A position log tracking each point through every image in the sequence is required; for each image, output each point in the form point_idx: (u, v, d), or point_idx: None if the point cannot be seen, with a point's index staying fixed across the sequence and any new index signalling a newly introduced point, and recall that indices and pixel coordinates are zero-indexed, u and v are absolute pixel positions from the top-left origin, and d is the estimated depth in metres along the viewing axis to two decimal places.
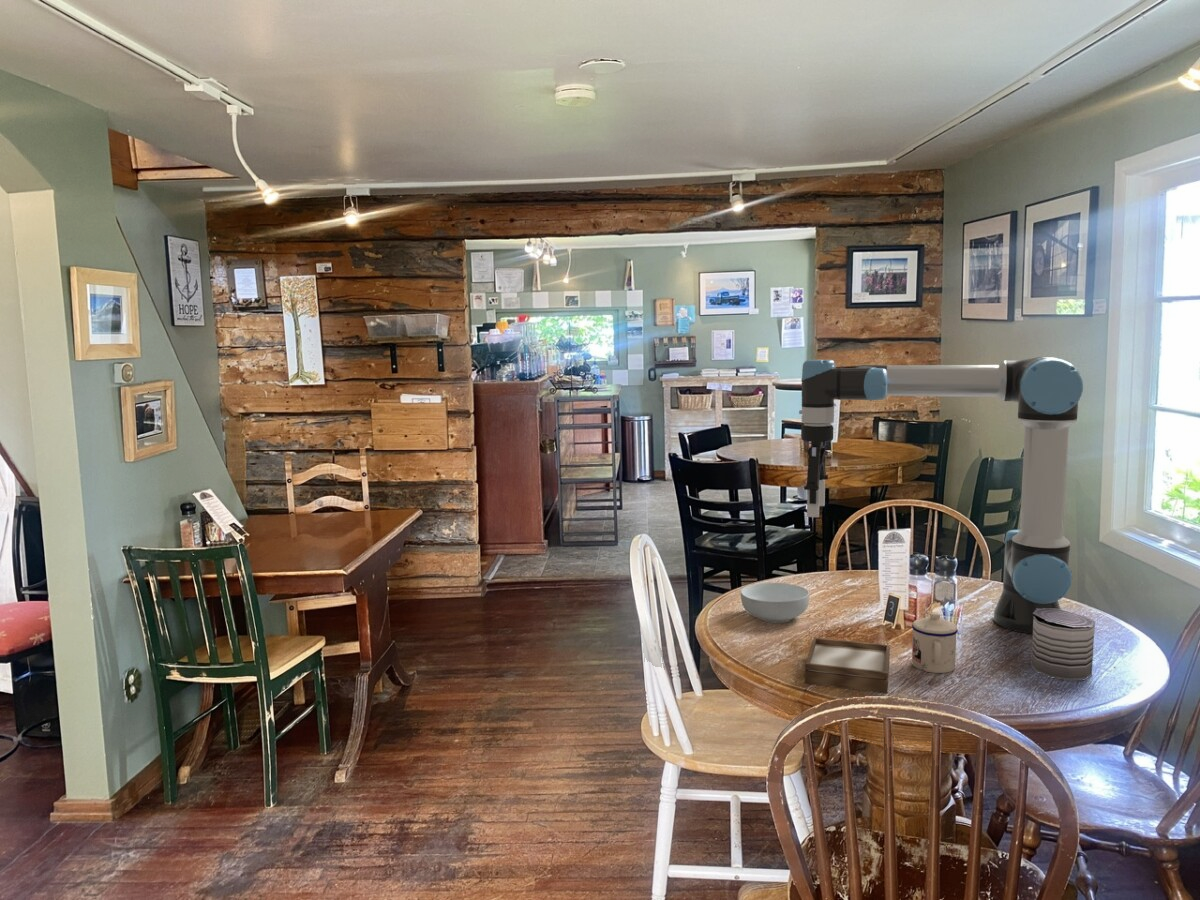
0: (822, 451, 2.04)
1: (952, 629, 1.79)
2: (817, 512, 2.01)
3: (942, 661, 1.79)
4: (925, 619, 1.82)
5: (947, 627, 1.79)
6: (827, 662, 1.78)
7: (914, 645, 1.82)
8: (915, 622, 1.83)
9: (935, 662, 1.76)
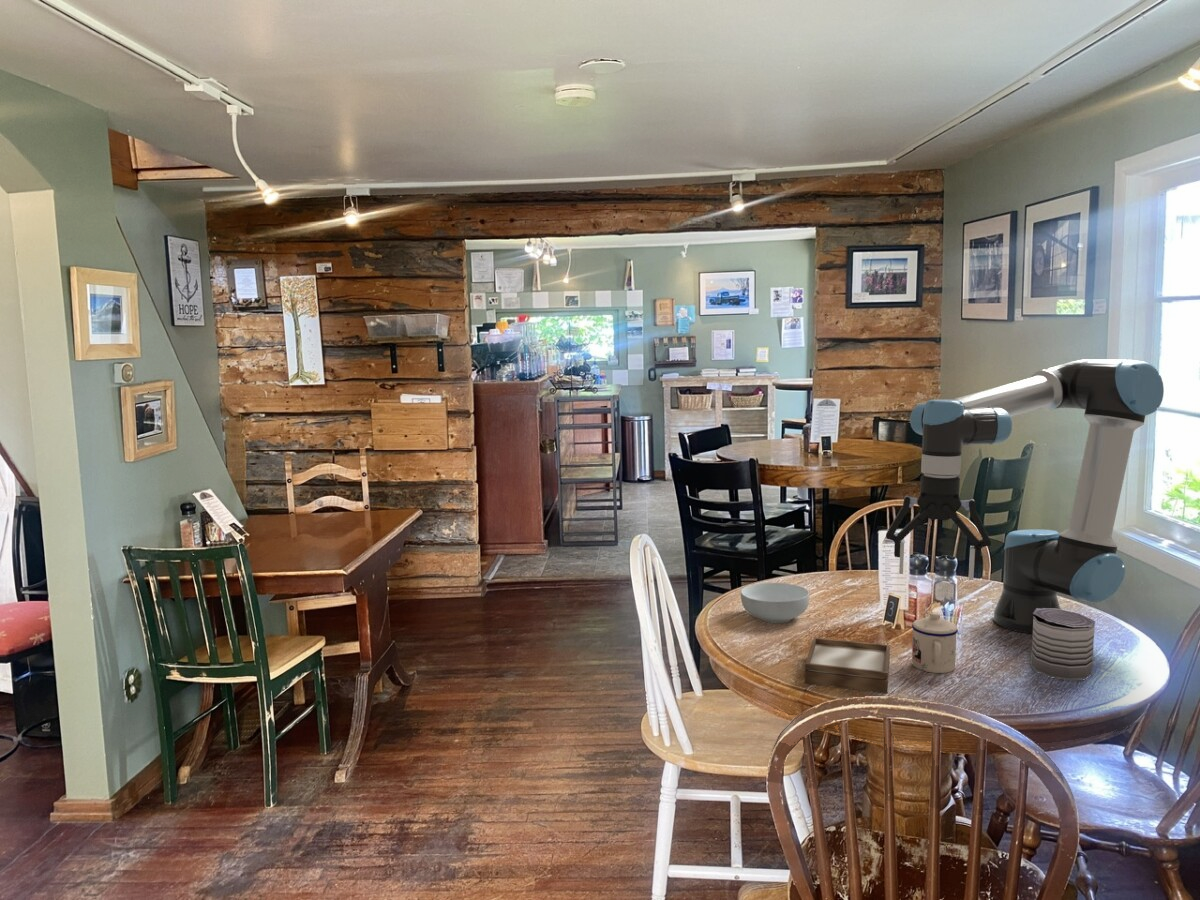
0: (928, 505, 1.76)
1: (952, 629, 1.79)
2: (899, 568, 1.80)
3: (942, 661, 1.79)
4: (925, 619, 1.82)
5: (947, 627, 1.79)
6: (827, 662, 1.78)
7: (914, 645, 1.82)
8: (915, 622, 1.83)
9: (935, 662, 1.76)
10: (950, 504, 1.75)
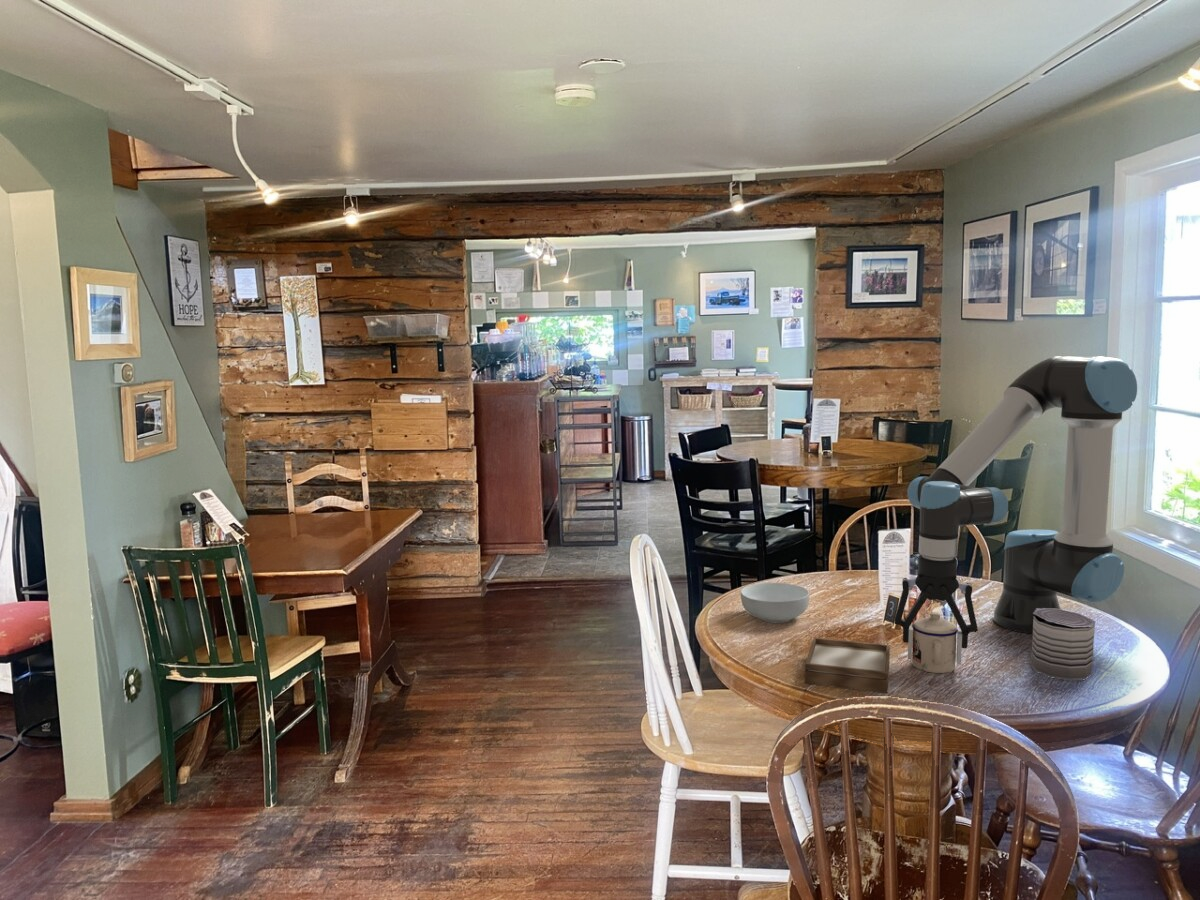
0: (926, 587, 1.79)
1: (952, 629, 1.79)
2: (908, 653, 1.82)
3: (943, 661, 1.79)
4: (925, 619, 1.82)
5: (947, 627, 1.79)
6: (827, 662, 1.78)
7: (914, 645, 1.82)
8: (915, 622, 1.83)
9: (935, 662, 1.76)
10: (948, 584, 1.77)
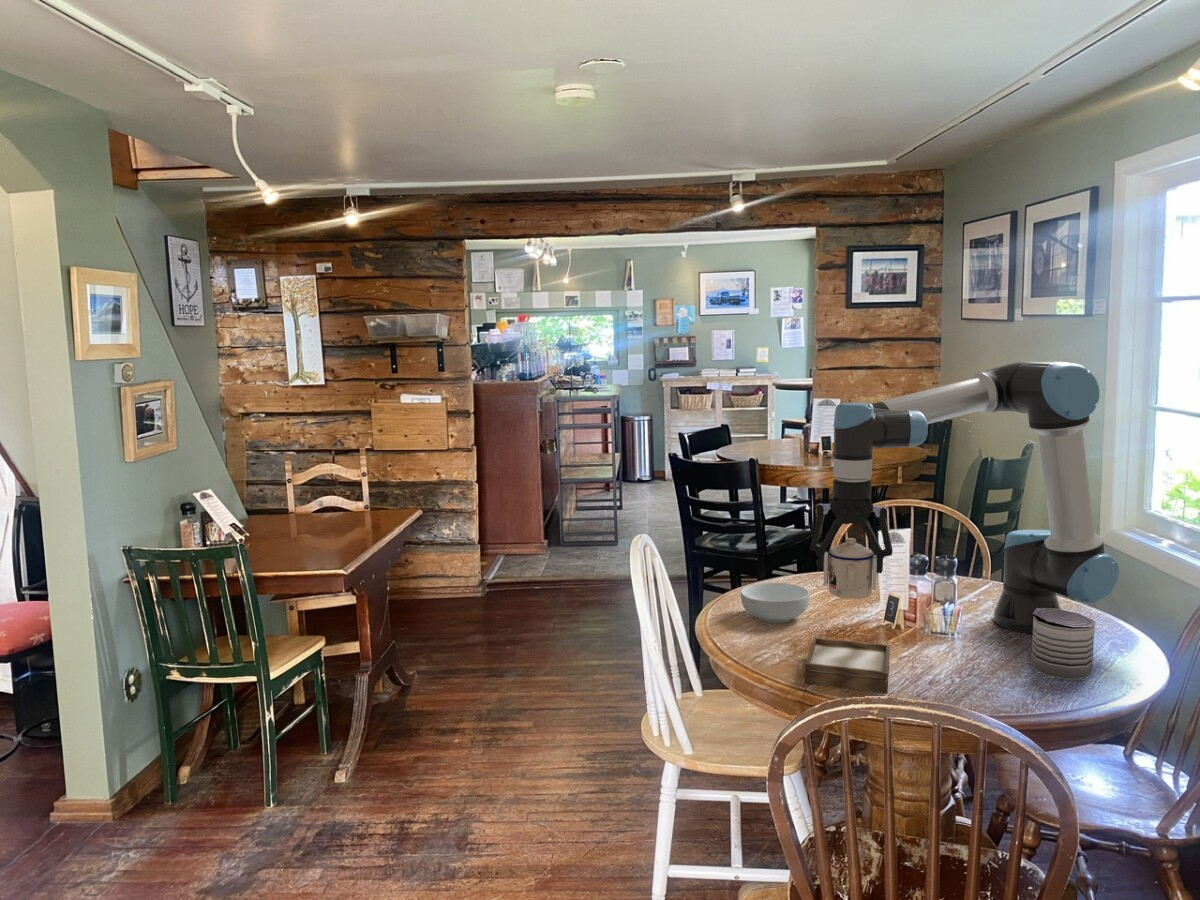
0: (841, 510, 1.75)
1: (867, 553, 1.75)
2: None
3: (857, 586, 1.75)
4: (841, 545, 1.78)
5: (862, 552, 1.75)
6: (827, 662, 1.78)
7: (830, 571, 1.78)
8: (831, 548, 1.79)
9: (849, 586, 1.72)
10: (862, 507, 1.74)
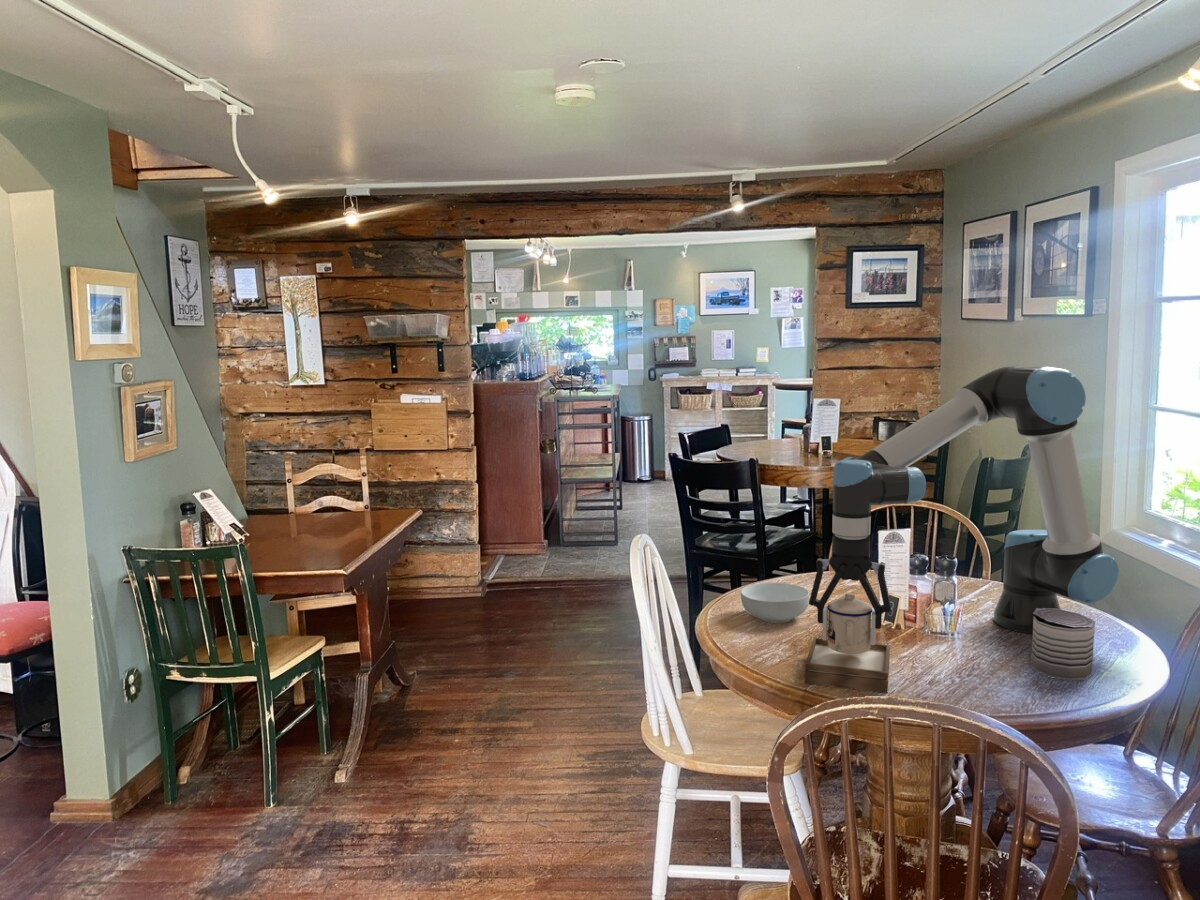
0: (840, 566, 1.76)
1: (866, 609, 1.76)
2: None
3: (856, 642, 1.76)
4: (840, 599, 1.80)
5: (861, 607, 1.77)
6: (827, 662, 1.78)
7: (829, 626, 1.80)
8: (830, 603, 1.81)
9: (847, 642, 1.74)
10: (861, 564, 1.75)
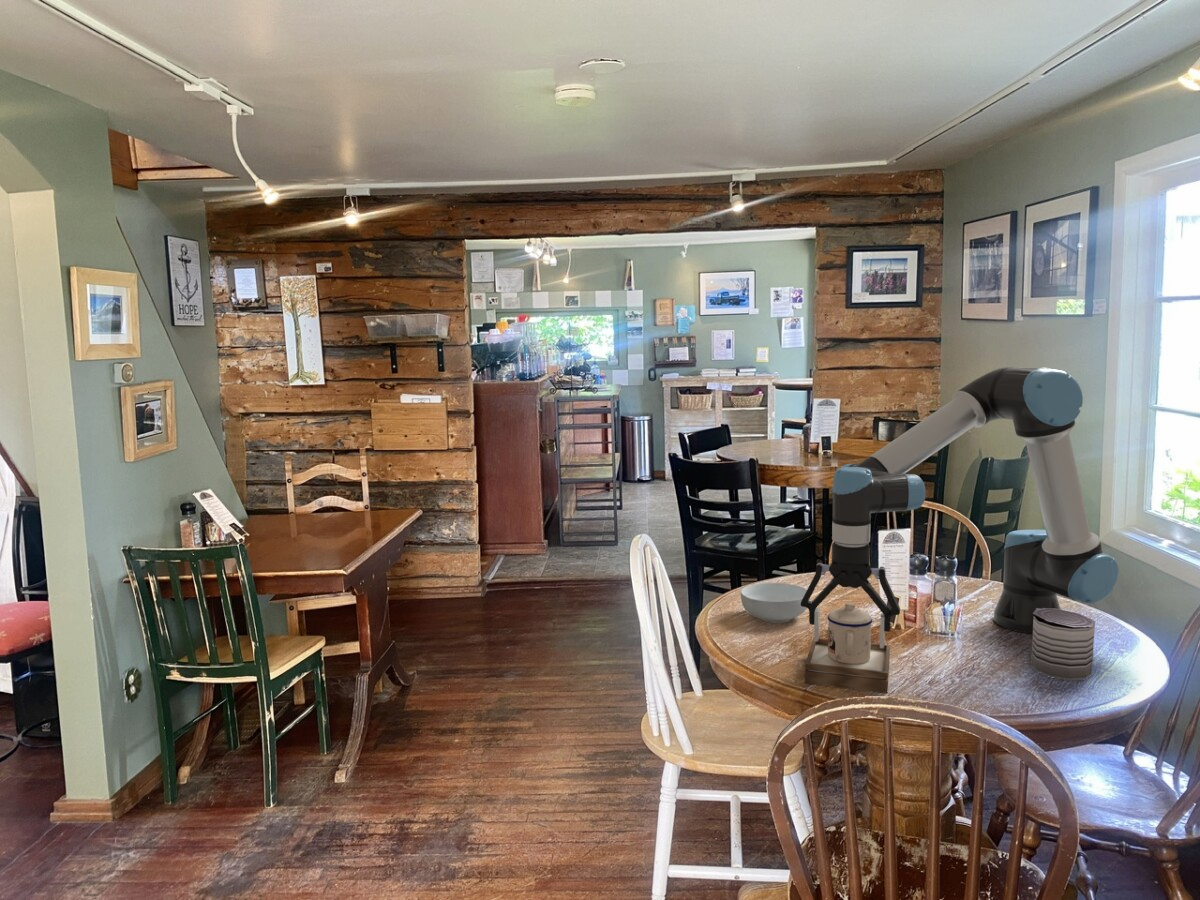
0: (839, 573, 1.77)
1: (866, 619, 1.77)
2: (814, 635, 1.80)
3: (856, 652, 1.77)
4: (840, 609, 1.80)
5: (861, 617, 1.77)
6: (827, 662, 1.78)
7: (829, 636, 1.80)
8: (830, 613, 1.81)
9: (848, 653, 1.74)
10: (860, 572, 1.75)
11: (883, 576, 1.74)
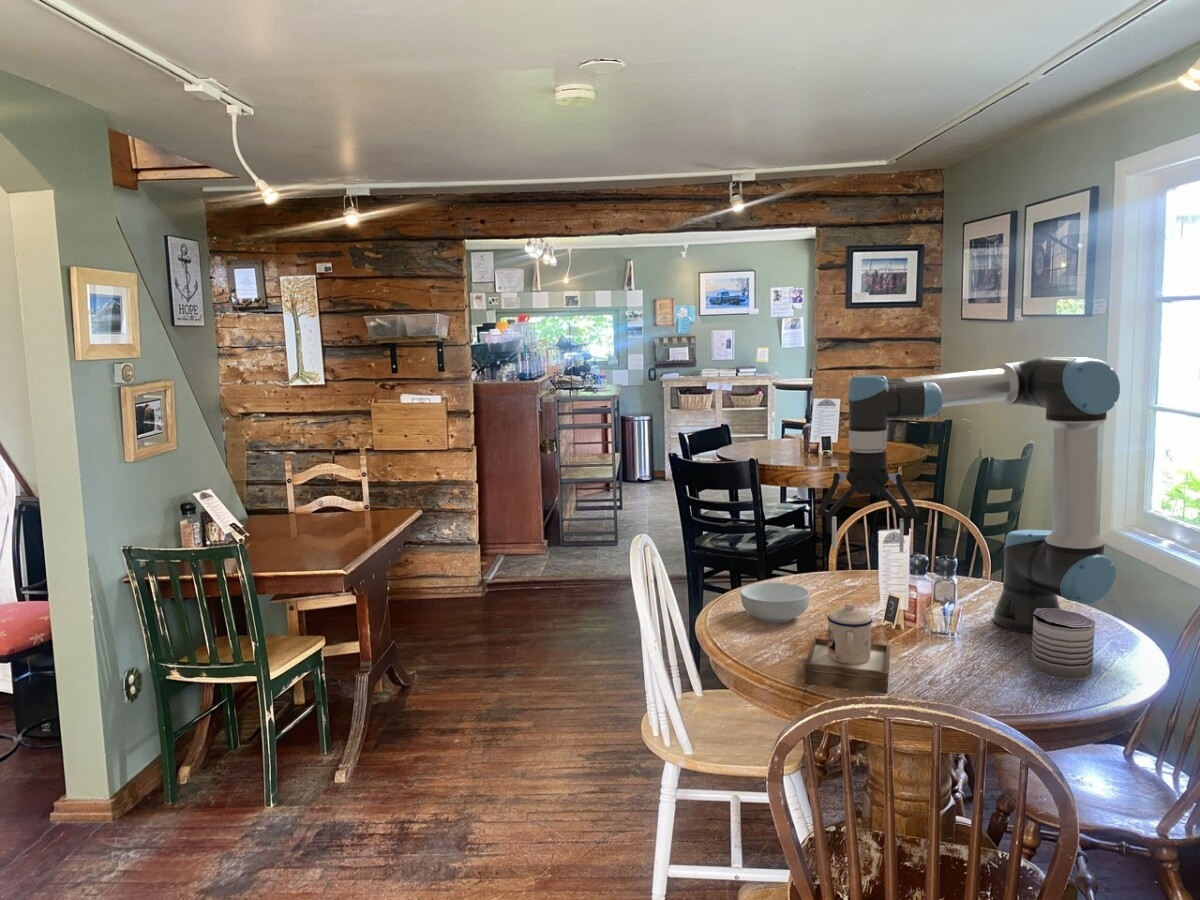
0: (857, 480, 1.79)
1: (866, 619, 1.77)
2: (832, 543, 1.83)
3: (856, 652, 1.77)
4: (840, 610, 1.80)
5: (861, 617, 1.77)
6: (827, 662, 1.78)
7: (829, 636, 1.80)
8: (830, 613, 1.81)
9: (847, 653, 1.74)
10: (878, 478, 1.78)
11: (900, 480, 1.76)
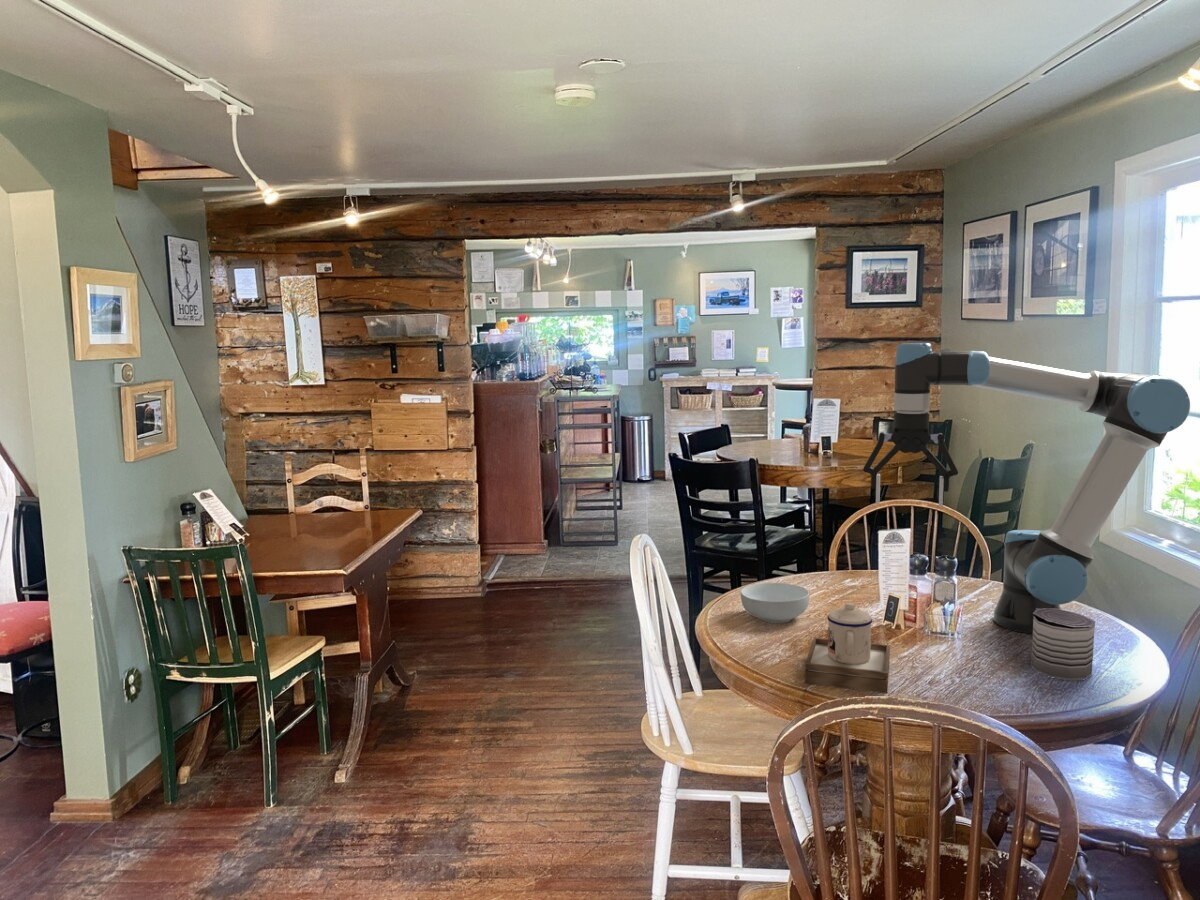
0: (901, 439, 1.94)
1: (866, 619, 1.77)
2: None
3: (856, 652, 1.77)
4: (840, 609, 1.80)
5: (861, 617, 1.77)
6: (827, 662, 1.78)
7: (829, 636, 1.80)
8: (830, 613, 1.81)
9: (848, 653, 1.74)
10: (920, 438, 1.93)
11: (942, 440, 1.91)
